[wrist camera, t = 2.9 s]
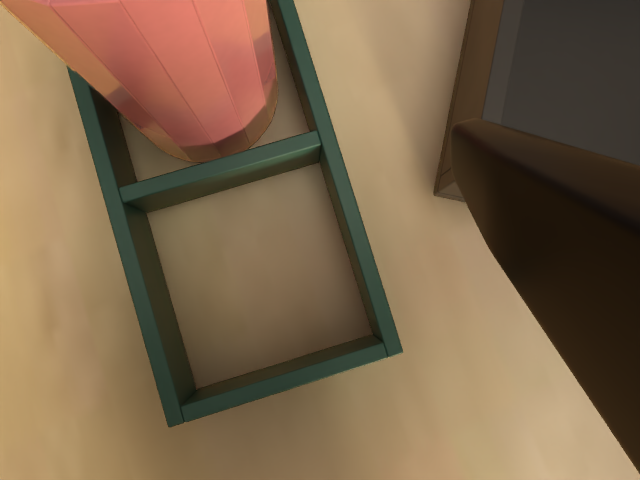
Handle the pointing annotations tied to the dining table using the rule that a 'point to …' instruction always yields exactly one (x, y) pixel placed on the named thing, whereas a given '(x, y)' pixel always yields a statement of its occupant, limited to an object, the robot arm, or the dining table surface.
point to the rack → (210, 177)
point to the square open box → (550, 75)
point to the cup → (169, 65)
